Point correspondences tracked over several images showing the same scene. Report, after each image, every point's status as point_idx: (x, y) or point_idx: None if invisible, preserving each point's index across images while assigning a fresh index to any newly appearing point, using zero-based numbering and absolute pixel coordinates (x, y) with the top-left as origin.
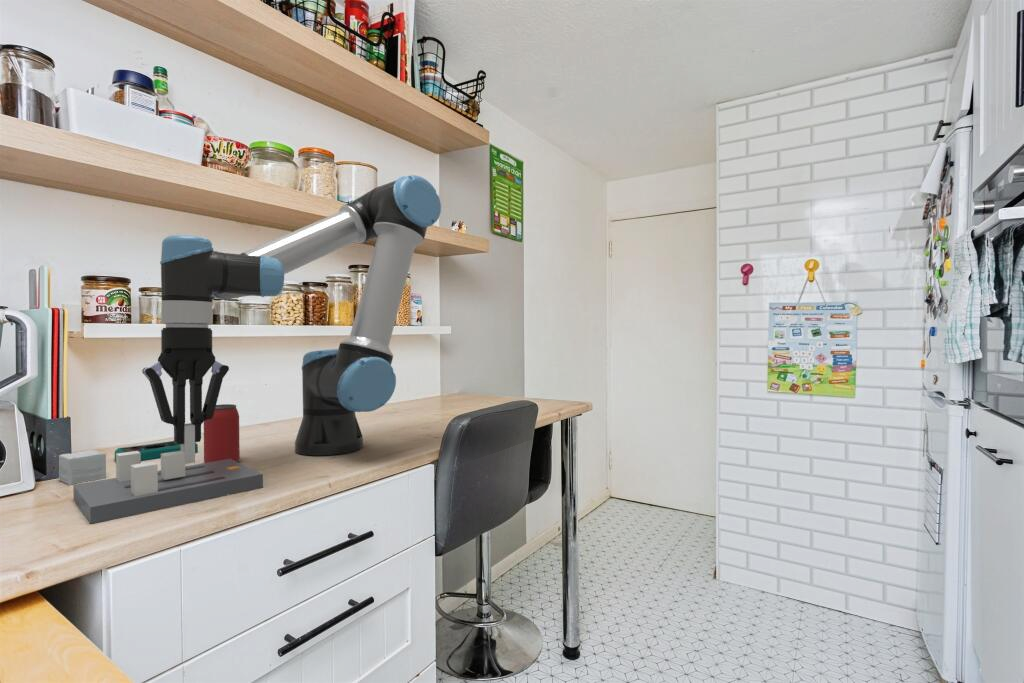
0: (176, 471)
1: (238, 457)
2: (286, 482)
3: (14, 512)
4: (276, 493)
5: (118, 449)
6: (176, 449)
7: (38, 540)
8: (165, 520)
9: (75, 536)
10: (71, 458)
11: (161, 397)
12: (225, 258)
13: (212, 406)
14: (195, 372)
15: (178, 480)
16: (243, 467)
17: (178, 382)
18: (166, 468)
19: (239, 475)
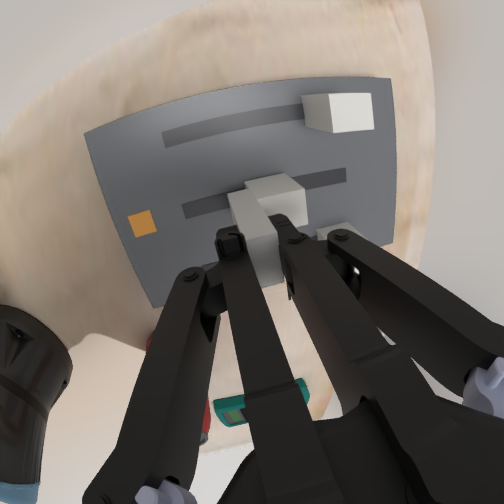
0: (265, 182)
1: (147, 345)
2: (54, 151)
3: (425, 209)
4: (79, 75)
5: (306, 402)
6: (241, 402)
7: (414, 61)
8: (282, 15)
9: (385, 40)
10: (383, 333)
11: (420, 282)
12: None
13: (177, 306)
14: (324, 466)
15: (257, 169)
16: (121, 218)
17: (406, 358)
18: (289, 180)
19: (130, 143)
